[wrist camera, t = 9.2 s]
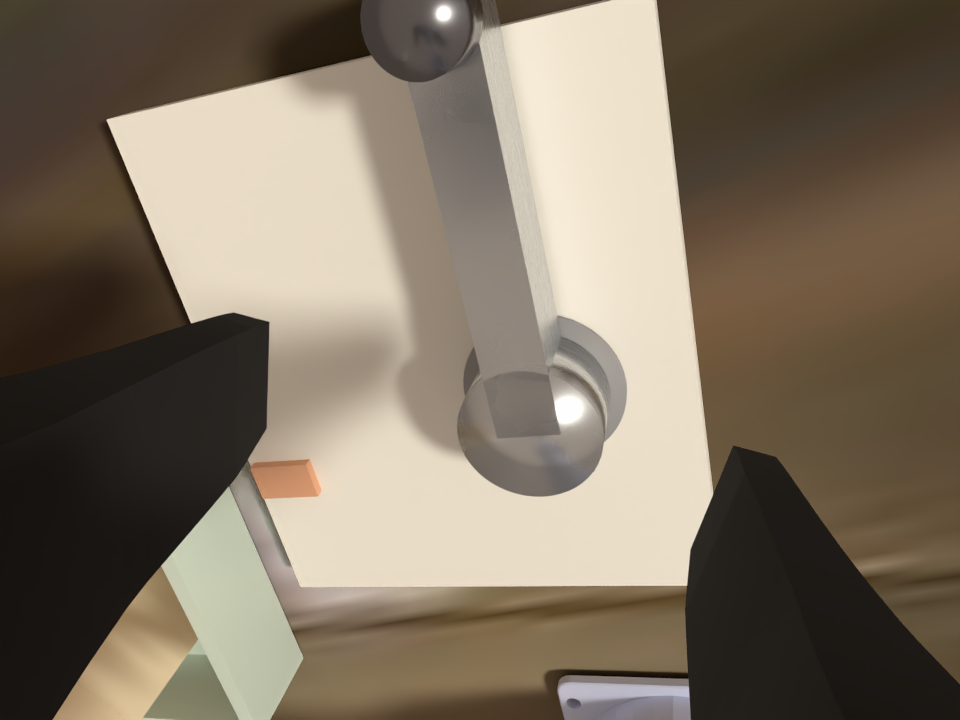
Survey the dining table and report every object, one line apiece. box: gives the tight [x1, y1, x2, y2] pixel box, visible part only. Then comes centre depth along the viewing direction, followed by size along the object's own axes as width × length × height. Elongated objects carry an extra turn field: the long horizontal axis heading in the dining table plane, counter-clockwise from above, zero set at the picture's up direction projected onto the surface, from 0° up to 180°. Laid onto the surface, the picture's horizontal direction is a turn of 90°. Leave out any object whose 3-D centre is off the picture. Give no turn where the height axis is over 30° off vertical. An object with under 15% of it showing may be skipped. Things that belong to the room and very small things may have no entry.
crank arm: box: [360, 0, 611, 497], centre depth 17 cm, size 12×4×3 cm, turn 13°
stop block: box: [53, 567, 198, 720], centre depth 27 cm, size 5×5×6 cm
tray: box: [142, 487, 303, 720], centre depth 28 cm, size 10×10×4 cm
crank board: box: [107, 0, 713, 587], centre depth 22 cm, size 16×14×2 cm
